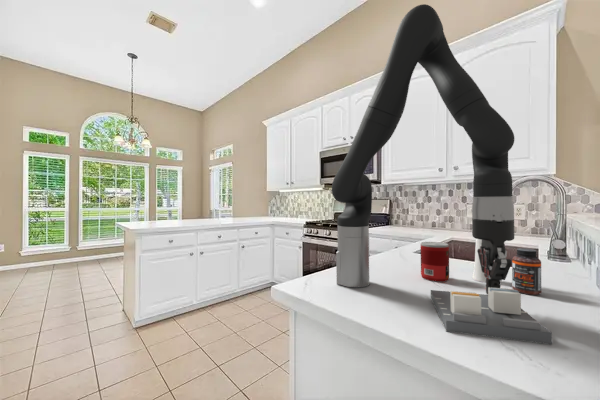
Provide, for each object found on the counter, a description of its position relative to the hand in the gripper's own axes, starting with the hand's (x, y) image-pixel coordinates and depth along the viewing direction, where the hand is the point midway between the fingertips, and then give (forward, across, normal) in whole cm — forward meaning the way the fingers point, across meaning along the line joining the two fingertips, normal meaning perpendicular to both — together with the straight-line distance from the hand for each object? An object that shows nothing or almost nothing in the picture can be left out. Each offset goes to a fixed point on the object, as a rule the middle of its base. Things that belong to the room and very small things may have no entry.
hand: (493, 296), depth 59 cm
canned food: (+4, -24, -8) cm, 26 cm away
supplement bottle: (+4, -17, +13) cm, 22 cm away
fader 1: (+1, +10, -8) cm, 12 cm away
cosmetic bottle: (+4, -26, +6) cm, 27 cm away
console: (+3, +4, -4) cm, 6 cm away
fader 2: (+1, +5, 0) cm, 5 cm away
